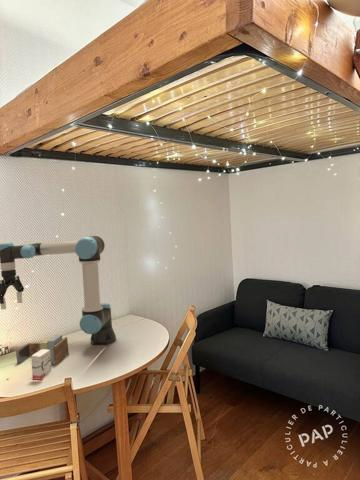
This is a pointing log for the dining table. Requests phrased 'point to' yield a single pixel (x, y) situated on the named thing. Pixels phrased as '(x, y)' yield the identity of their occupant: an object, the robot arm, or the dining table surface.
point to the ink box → (41, 364)
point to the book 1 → (44, 343)
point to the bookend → (23, 354)
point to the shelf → (59, 349)
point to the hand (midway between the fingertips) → (12, 305)
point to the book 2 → (51, 343)
